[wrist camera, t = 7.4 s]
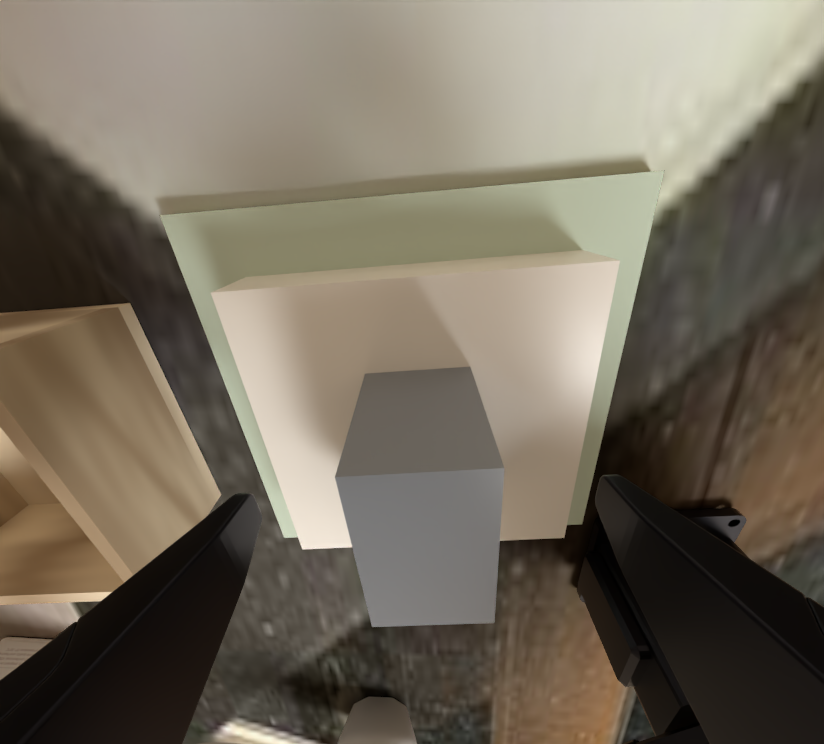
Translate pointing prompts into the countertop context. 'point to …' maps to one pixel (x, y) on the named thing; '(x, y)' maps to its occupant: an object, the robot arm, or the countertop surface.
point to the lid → (424, 413)
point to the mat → (419, 243)
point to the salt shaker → (378, 723)
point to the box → (89, 455)
